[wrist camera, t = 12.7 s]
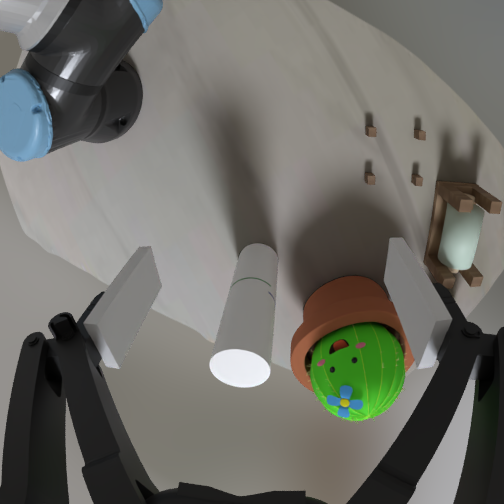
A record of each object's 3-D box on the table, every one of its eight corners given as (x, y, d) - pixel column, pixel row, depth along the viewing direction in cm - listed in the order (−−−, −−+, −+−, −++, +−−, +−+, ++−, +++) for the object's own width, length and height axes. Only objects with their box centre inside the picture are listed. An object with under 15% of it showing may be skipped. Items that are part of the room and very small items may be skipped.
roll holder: (436, 180, 45) (460, 198, 38) (476, 183, 44) (502, 201, 36) (423, 262, 53) (440, 289, 45) (460, 260, 52) (480, 286, 44)
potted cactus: (411, 319, 60) (446, 415, 38) (324, 361, 68) (330, 458, 46) (372, 243, 52) (416, 345, 31) (270, 298, 60) (259, 408, 39)
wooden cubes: (365, 126, 43) (368, 127, 41) (420, 129, 42) (425, 131, 40) (364, 180, 47) (367, 184, 46) (417, 182, 46) (422, 186, 44)
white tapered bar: (251, 283, 59) (231, 392, 37) (231, 253, 56) (197, 358, 35) (285, 268, 57) (281, 378, 35) (265, 236, 54) (249, 341, 32)
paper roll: (442, 188, 45) (461, 202, 39) (473, 190, 44) (493, 204, 38) (429, 259, 52) (443, 280, 45) (459, 259, 51) (474, 279, 45)
